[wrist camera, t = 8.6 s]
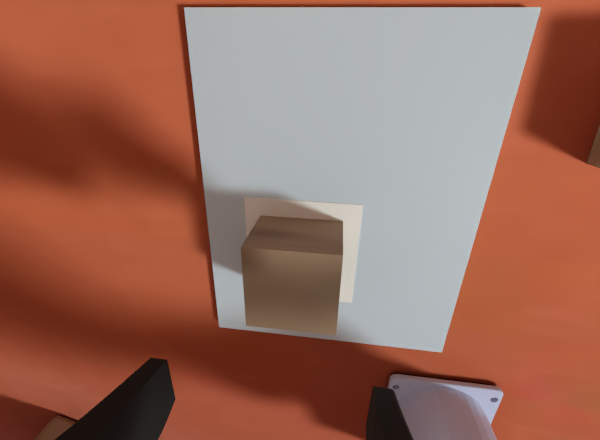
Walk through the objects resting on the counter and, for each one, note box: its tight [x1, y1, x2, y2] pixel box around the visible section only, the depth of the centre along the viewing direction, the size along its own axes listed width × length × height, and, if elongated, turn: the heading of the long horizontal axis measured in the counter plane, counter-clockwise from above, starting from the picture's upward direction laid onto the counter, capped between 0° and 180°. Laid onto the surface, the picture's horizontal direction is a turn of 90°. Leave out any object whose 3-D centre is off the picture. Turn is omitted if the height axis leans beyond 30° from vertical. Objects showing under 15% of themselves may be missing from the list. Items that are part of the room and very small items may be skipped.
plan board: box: [184, 7, 541, 352], centre depth 18 cm, size 20×16×1 cm
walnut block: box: [241, 215, 343, 335], centre depth 18 cm, size 5×5×4 cm
